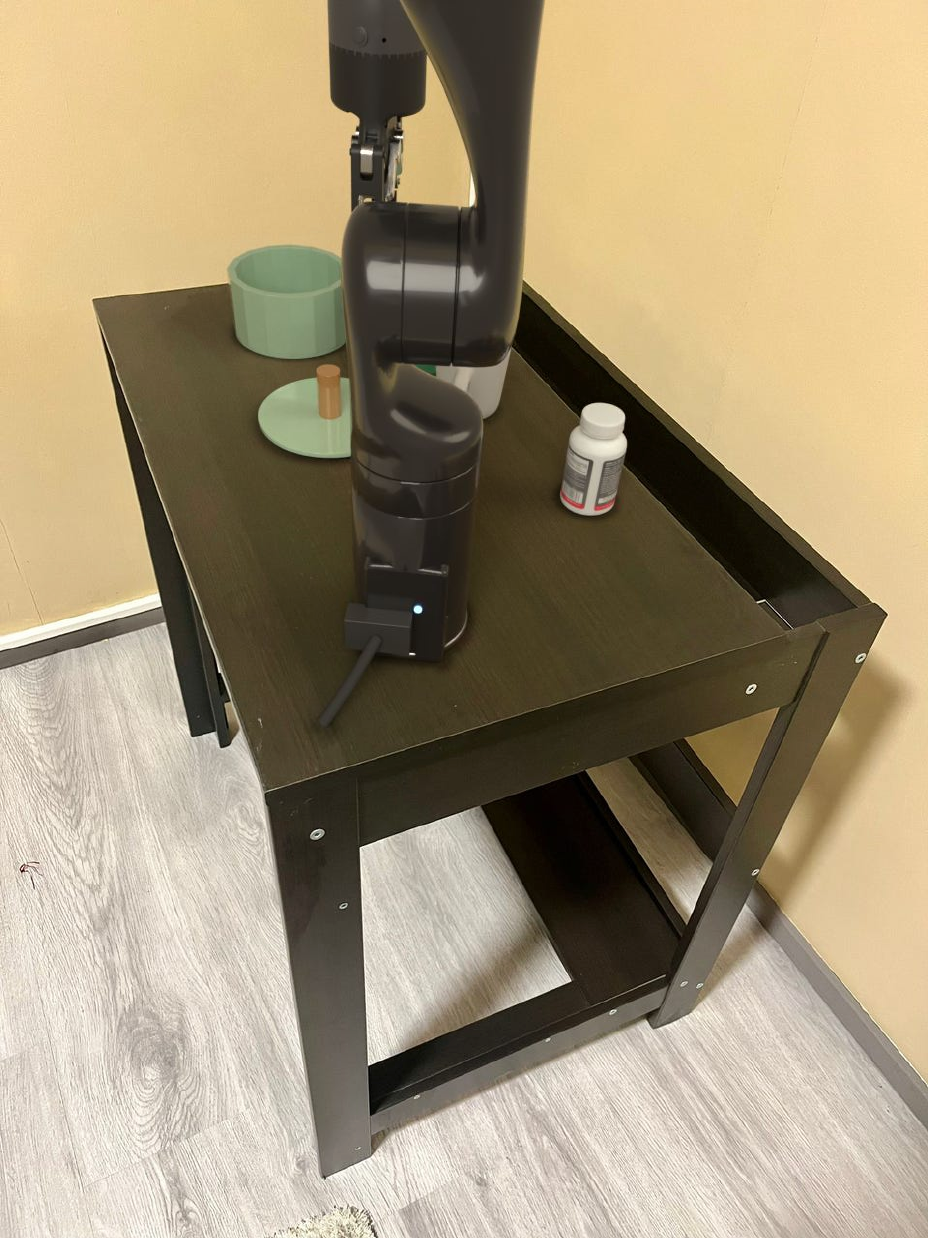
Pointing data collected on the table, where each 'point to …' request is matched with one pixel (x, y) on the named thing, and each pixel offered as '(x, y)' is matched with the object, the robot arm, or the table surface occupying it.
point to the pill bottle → (594, 460)
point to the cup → (478, 383)
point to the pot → (287, 301)
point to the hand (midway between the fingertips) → (378, 250)
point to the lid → (310, 415)
